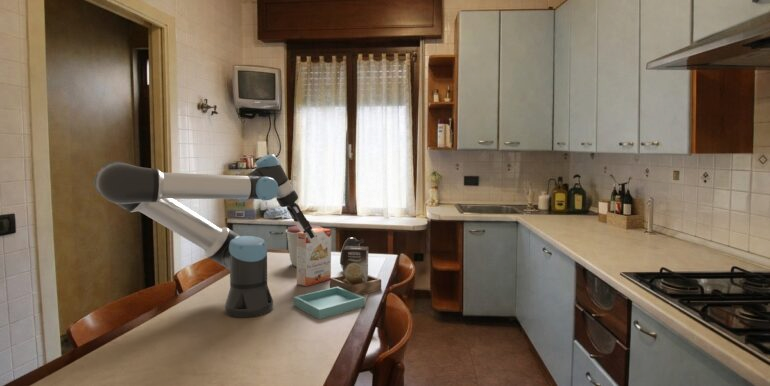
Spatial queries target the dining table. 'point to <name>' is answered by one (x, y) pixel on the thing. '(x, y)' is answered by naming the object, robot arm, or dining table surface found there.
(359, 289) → the holder
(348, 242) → the pump dispenser
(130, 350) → the dining table surface
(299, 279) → the cracker box
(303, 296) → the tray
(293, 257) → the canister
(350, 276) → the coffee box
